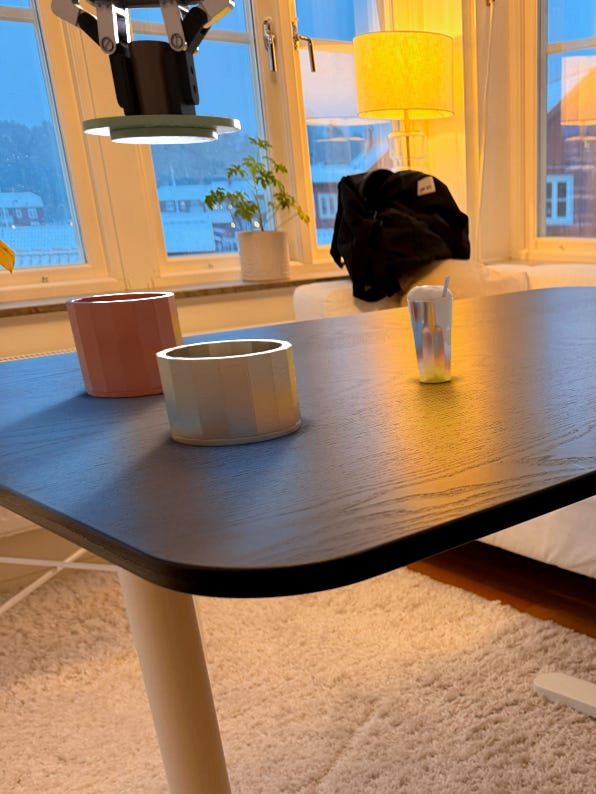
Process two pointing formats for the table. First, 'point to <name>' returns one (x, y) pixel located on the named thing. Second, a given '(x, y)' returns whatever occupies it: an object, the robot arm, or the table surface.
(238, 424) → the tin
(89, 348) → the cup
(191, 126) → the lid
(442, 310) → the milkshake
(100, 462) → the table surface
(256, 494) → the table surface
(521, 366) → the table surface
